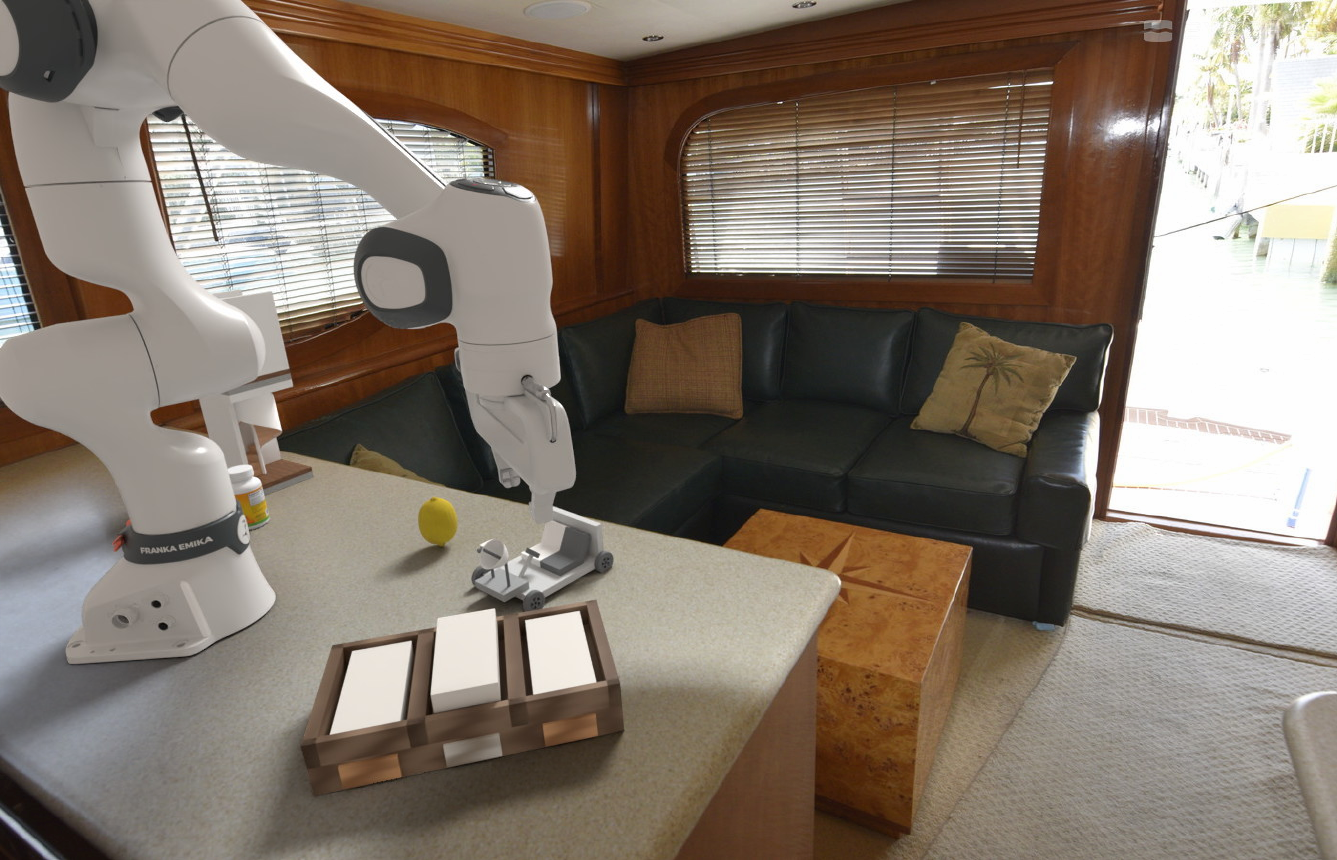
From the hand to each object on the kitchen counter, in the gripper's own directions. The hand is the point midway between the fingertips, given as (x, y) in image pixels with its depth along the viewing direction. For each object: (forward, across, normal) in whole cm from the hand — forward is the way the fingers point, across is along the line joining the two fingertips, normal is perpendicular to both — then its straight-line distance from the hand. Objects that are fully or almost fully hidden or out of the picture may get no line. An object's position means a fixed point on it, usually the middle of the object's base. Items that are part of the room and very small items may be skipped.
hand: (525, 501), depth 73 cm
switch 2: (+16, 0, +8) cm, 18 cm away
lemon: (+22, +38, +2) cm, 44 cm away
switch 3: (+18, -3, -1) cm, 18 cm away
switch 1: (+18, +2, +16) cm, 25 cm away
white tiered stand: (+24, +84, +24) cm, 90 cm away
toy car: (+22, +20, -7) cm, 31 cm away
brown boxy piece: (+21, -1, +8) cm, 23 cm away
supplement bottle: (+24, +65, +27) cm, 74 cm away
